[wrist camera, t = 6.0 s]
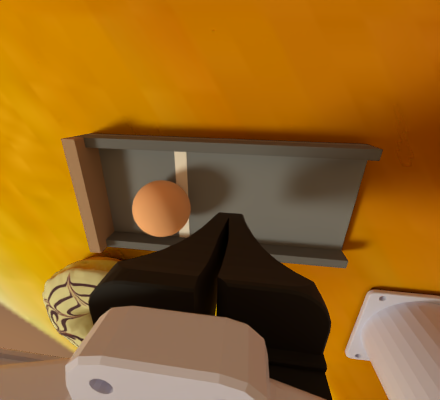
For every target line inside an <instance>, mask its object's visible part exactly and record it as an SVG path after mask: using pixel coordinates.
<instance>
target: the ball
mask: <svg viewBox="0 0 440 400" xmlns="http://www.w3.org/2000/svg"><path fill="white" fill-rule="evenodd" d="M190 211H191V205H190V200H189V198H188V195H187V194H186V192H185V191H184V190H183V189H182V188H181V187H180V186H179V185H177V184H175V183H173V182H171V181H166V180H158V181H153V182H150V183H148V184H146V185H145V186H143V187H142V188H141V189H140V190H139V191H138V192H137V194H136V196H135V198H134V200H133V205H132V213H133V217H134V220H135V222H136V223H137V225H138V226H139V227H140V228H141V229H142V230H143V231H144V232H146V233H147V234H150V235H152V236H156V237H166V236H170V235H173V234H175V233H177V232H178V231H180V230H181V229H182V228H183V227H184V226H185V224H186V223H187V221H188V219H189V216H190Z"/></svg>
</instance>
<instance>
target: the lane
mask: <svg viewBox="0 0 440 400" xmlns="http://www.w3.org/2000/svg"><path fill="white" fill-rule="evenodd" d="M61 140H62V144H63V148H64V152H65V156H66V160H67V163H68V167H69V171H70V175H71V179H72V183H73V187H74V190H75V194H76V198H77V202H78V206H79V210H80V214H81V217H82V221H83V225H84V229H85V233H86V237H87V241H88V244H89V248H90V252H96V253H101V252H102V251H103V250H104V249H105V248H106V247H107V246H108V247H119V248H130V249H141V250H151V251H160V250H162V249H165V248H167V247H169V246H171V245H174V244H176V243H178V242H180V241H182V240H184V239H185V238H187V237H189V236H191V235H192V234H194V233H195V232H196V231H198V230H199V229H200V228H202V227H203V226H204V225H205V224H206V223H208V222H209V221H210V220H211V219H212V218H213V217H214V216H215V215H216V214H217V213H219V212H224V213H237V214H242V215H243V216H244V219H245V222H246V224H247V226H248V227H249V229H250V231H251V232H252V234H253V235H254V237H255V238H256V240H257V241H258V242H259V243H260V245H261V246H262V247H263V248H264V249H265V250H266V251H267V252H268V253H269V254H270V255H271V256H273V257H274V258H275V259H276V260H278V261H279V262H283V263H294V264H305V265H316V266H327V267H338V268H346V266H347V263H348V260H347V259H346V257H345V255H344V254H343V252H342V251H341V249H342V246H343V243H344V239H345V236H346V232H347V229H348V225H349V222H350V218H351V215H352V212H353V208H354V205H355V201H356V198H357V194H358V191H359V187H360V184H361V181H362V177H363V174H364V170H365V167H366V163H367V160H374V161H380V157H381V154H382V151H383V150H382V149H379V148H376V147H374V146H371V145H368V144H351V143H325V142H299V141H273V140H247V139H221V138H195V137H169V136H143V135H117V134H91V133H90V134H85V135H80V136H74V137H69V138H64V139H61ZM158 180H166V181H171V182H173V183H175V184H177V185H179V186H180V187H181V188H182V189H183V190H184V191H185V192H186V194H187V195H188V198H189V200H190V205H191V211H190V216H189V219H188V221H187V223H186V224H185V226H184V227H183V228H182V229H181V230H180V231H178V232H177V233H175V234H173V235H170V236H166V237H156V236H152V235H150V234H147V233H146V232H144V231H143V230H142V229H141V228H140V227H139V226H138V225H137V223H136V222H135V220H134V217H133V213H132V205H133V200H134V198H135V196H136V194H137V192H138V191H139V190H140V189H141V188H142V187H143V186H145V185H146V184H148V183H150V182H153V181H158Z"/></svg>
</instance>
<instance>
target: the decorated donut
mask: <svg viewBox="0 0 440 400" xmlns="http://www.w3.org/2000/svg"><path fill="white" fill-rule="evenodd" d="M118 261H122V260H119V259H116V258H110V257H98V256H97V257H90V258H87V259H84V260H81V261H78V262H75V263H72V264H70V265H67V267H65V268H64V269H62V270H60V271H59V272H56V273H55V274H54V275H53V276H52V277H51V278H50V279H49V280H47V281H46V283H45V291H44V292H43V301H44V304H45V307H46V309H47V313H48V316H49V318H50V320H51V322H52V324H53V326H54V327H55V328H56V330H57V331H58V332H59V334H61V335H62V336H64V337H65V338H66V339H68V340H69V341H70V342H71V343H72V344H73V345H75V346H76V347H79V346H80V344H81V343H82V341H83V340H84V339H85V337H86V336H87V334H88V333H89V332H90V330H91V329H92V327H93V326H94V325H93V321H92V318H91V314H90V311H89V303H88V301H89V297H90V294H91V293H92V291H93V290H94V289H95V287H96V286H97V285H98V284H99V283H100V281H101V280H102V279H103V278H104V277H105V275H106V274H107V273H108V272H109V271H110V270H111V268H112V267H113V266H114V265H115V264H116V263H117V262H118Z"/></svg>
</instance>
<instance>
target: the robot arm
mask: <svg viewBox="0 0 440 400" xmlns="http://www.w3.org/2000/svg"><path fill="white" fill-rule="evenodd" d="M381 296H382V297H381ZM88 303H89V311H90V314H91V318H92V321H93V325H94V326H93V327H92V329H91V330H90V332H89V333H88V334H87V336H86V337H85V339H84V340H83V341H82V343H81V344H80V346H79V347H78V348H77V350H76V351H75V353H74V354H73V355H72V357H71V358H62V357H56V356H49V355H43V354H37V353H30V352H24V351H17V350H11V349H5V348H0V400H332V397H331V393H330V389H329V386H328V382H327V379H326V375H325V372H326V370H327V365H326V362H325V358H324V355H323V352H324V349H325V346H326V342H327V339H328V336H329V333H330V328H331V320H330V316H329V313H328V310H327V307H326V305H325V302H324V300H323V298H322V296H321V294H320V293H319V291H318V289H317V287H316V285H315V283H314V282H313V281H311V280H309V279H307V278H305V277H303V276H301V275H299V274H298V273H296V272H294V271H292V270H291V269H289V268H288V267H286V266H285V265H283V264H282V263H280V262H279V261H278V260H276V259H275V258H274V257H273V256H271V255H270V254H269V253H268V252H267V251H266V250H265V249H264V248H263V247H262V246H261V245H260V243H259V242H258V241H257V240H256V238H255V237H254V235H253V234H252V232H251V231H250V229H249V227H248V226H247V224H246V222H245V219H244V216H243V215H242V214H237V213H224V212H219V213H217V214H216V215H215V216H214V217H213V218H212V219H211V220H210V221H209V222H208V223H206V224H205V225H204V226H203V227H202V228H200V229H199V230H198V231H196V232H195V233H194V234H192V235H191V236H189V237H187V238H185V239H184V240H182V241H180V242H178V243H176V244H174V245H171V246H169V247H167V248H165V249H162V250H160V251H157V252H154V253H151V254H147V255H144V256H140V257H136V258H132V259H128V260H123V261H118V262H117V263H116V264H115V265H114V266H113V267H112V268H111V270H110V271H109V272H108V273H107V274H106V275H105V277H104V278H103V279H102V280H101V281H100V283H99V284H98V285H97V286H96V287H95V289H94V290H93V291H92V293H91V294H90V297H89V301H88ZM216 304H217V316H215V311H216ZM345 353H346V356H347V357H349V358H353V359H360V360H368V361H371V363H372V365H373V367H374V369H375V371H376V374H377V376H378V378H379V380H380V382H381V384H382V386H383V388H384V390H385V393H386V395H387V397H388V399H389V400H440V296H436V295H426V294H416V293H405V292H395V291H385V290H370V291H368V293H367V294H366V297H365V300H364V302H363V305H362V308H361V310H360V313H359V315H358V318H357V321H356V323H355V326H354V328H353V331H352V334H351V336H350V339H349V342H348V344H347V347H346V349H345Z"/></svg>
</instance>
